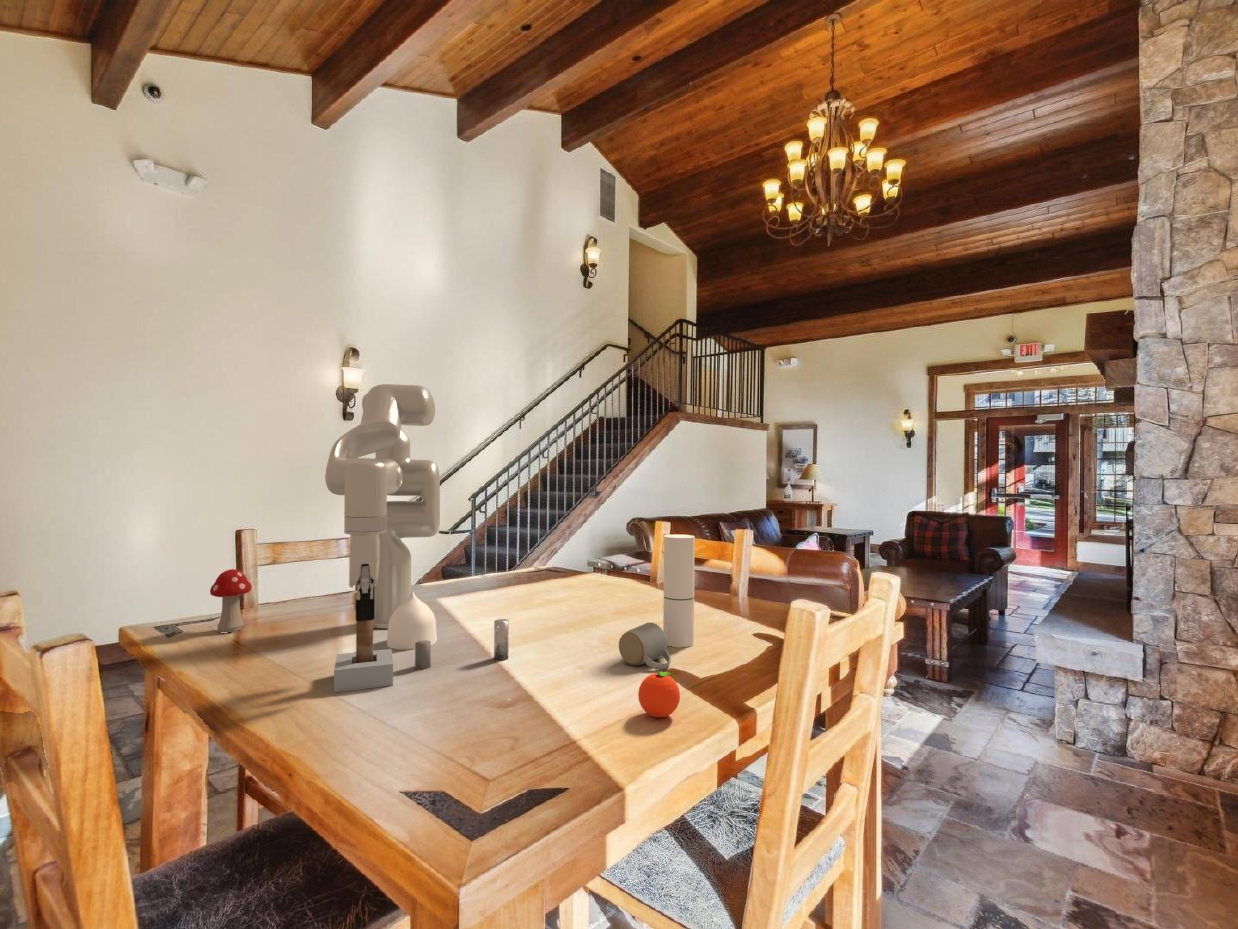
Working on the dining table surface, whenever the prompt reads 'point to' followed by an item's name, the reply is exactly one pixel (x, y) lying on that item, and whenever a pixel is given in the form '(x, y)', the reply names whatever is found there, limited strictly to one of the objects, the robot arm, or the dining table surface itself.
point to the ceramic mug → (644, 646)
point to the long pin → (364, 641)
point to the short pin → (423, 654)
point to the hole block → (363, 671)
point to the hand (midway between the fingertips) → (365, 613)
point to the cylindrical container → (679, 590)
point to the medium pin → (501, 639)
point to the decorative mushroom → (230, 598)
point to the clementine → (659, 694)
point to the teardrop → (411, 624)
